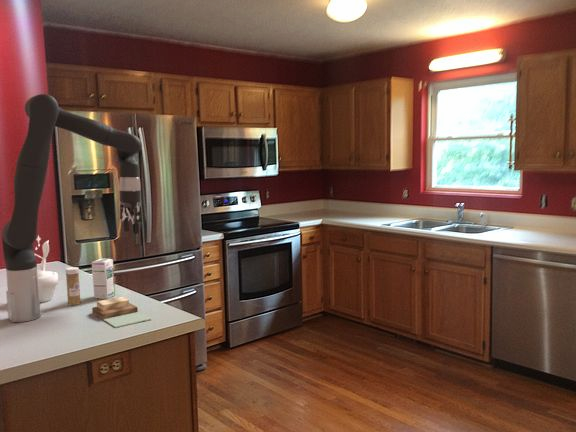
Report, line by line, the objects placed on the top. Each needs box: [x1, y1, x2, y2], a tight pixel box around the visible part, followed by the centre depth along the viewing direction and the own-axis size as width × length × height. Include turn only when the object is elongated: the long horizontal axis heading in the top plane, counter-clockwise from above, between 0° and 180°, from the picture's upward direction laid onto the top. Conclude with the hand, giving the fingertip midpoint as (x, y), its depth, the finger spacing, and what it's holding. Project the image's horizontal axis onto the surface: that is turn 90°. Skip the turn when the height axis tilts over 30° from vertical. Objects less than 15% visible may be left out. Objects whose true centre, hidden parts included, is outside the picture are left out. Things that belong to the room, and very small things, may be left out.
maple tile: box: [96, 296, 130, 311], centre depth 183 cm, size 9×6×2 cm, turn 130°
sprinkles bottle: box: [65, 266, 82, 306], centre depth 193 cm, size 5×5×14 cm
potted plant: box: [34, 234, 59, 303], centre depth 197 cm, size 13×12×25 cm
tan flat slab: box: [91, 302, 139, 321], centre depth 182 cm, size 12×10×2 cm
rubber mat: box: [103, 311, 152, 329], centre depth 174 cm, size 12×10×1 cm
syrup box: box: [91, 258, 116, 300], centre depth 202 cm, size 6×6×14 cm
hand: (130, 232), depth 198 cm, fingers open, 8 cm apart
